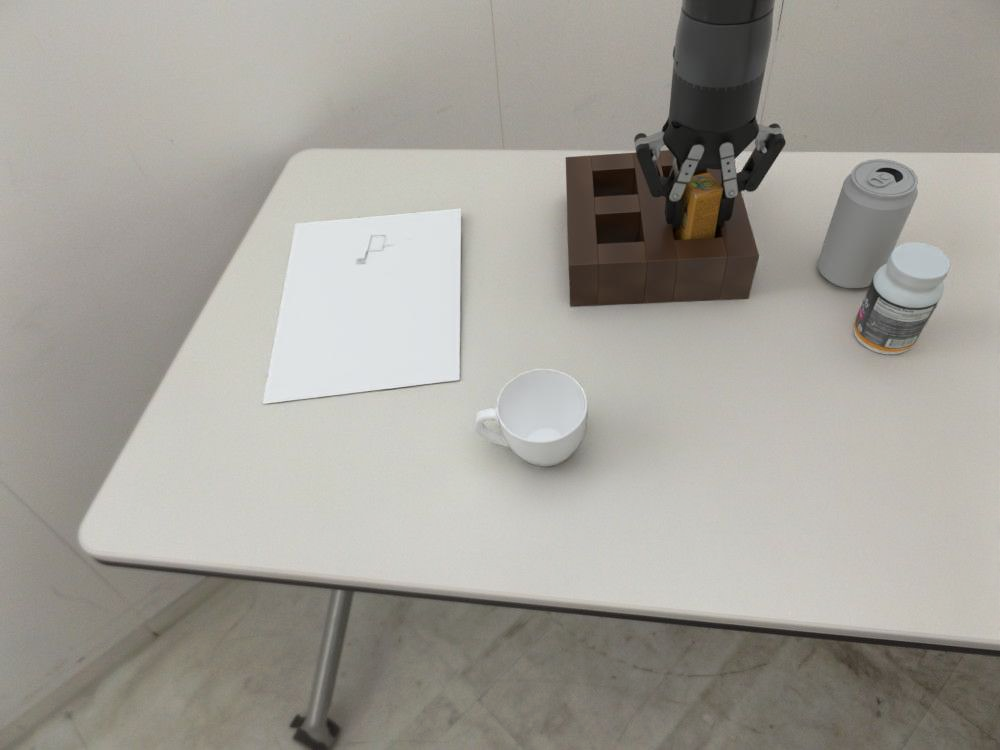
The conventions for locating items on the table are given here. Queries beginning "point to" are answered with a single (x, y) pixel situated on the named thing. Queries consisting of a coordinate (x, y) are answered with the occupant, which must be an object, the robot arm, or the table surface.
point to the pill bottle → (902, 298)
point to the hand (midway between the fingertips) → (696, 222)
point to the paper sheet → (368, 306)
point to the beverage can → (867, 222)
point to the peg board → (646, 240)
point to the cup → (538, 416)
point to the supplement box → (699, 208)
